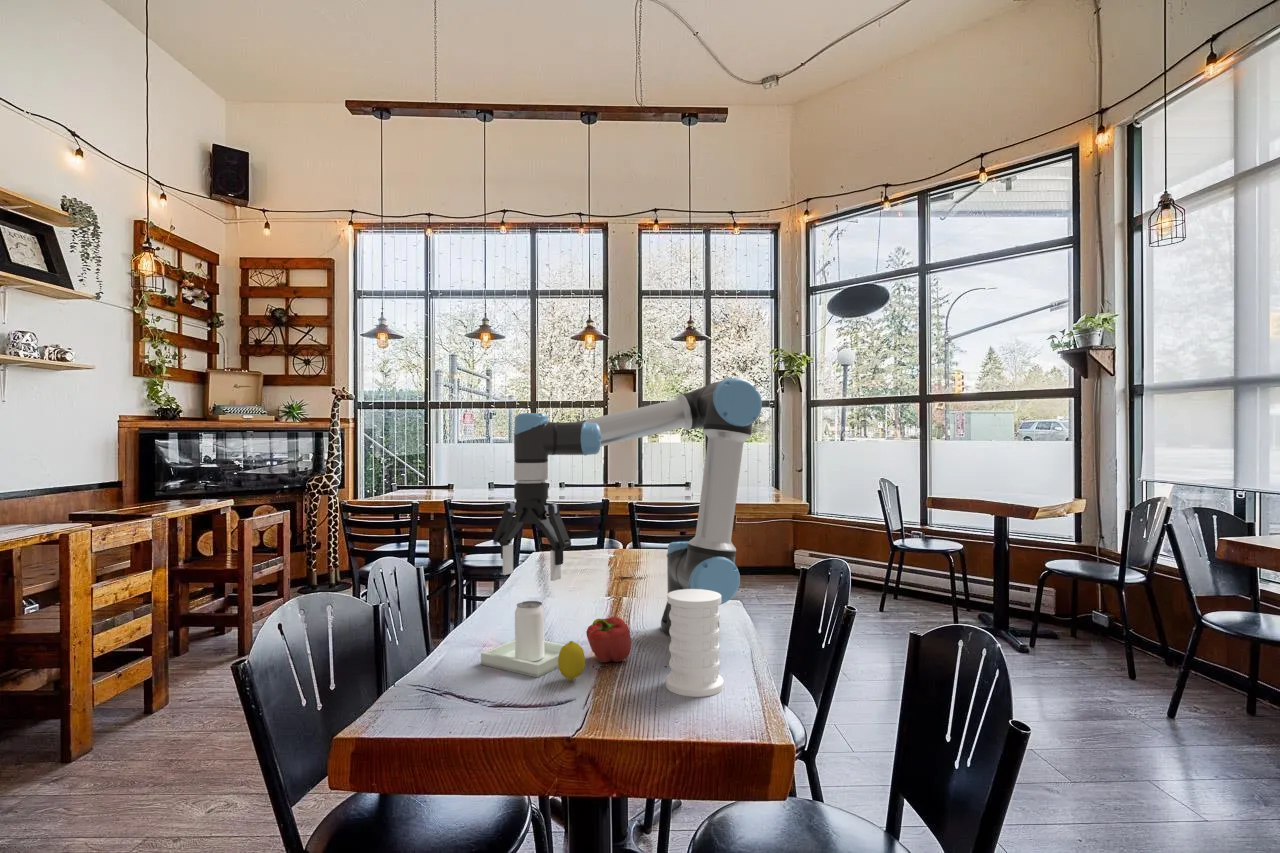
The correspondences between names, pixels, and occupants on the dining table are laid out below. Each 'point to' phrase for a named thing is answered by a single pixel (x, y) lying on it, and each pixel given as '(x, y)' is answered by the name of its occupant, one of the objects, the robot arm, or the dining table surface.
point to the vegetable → (609, 639)
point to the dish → (506, 660)
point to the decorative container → (694, 643)
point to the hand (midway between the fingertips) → (531, 576)
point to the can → (529, 631)
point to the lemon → (571, 660)
